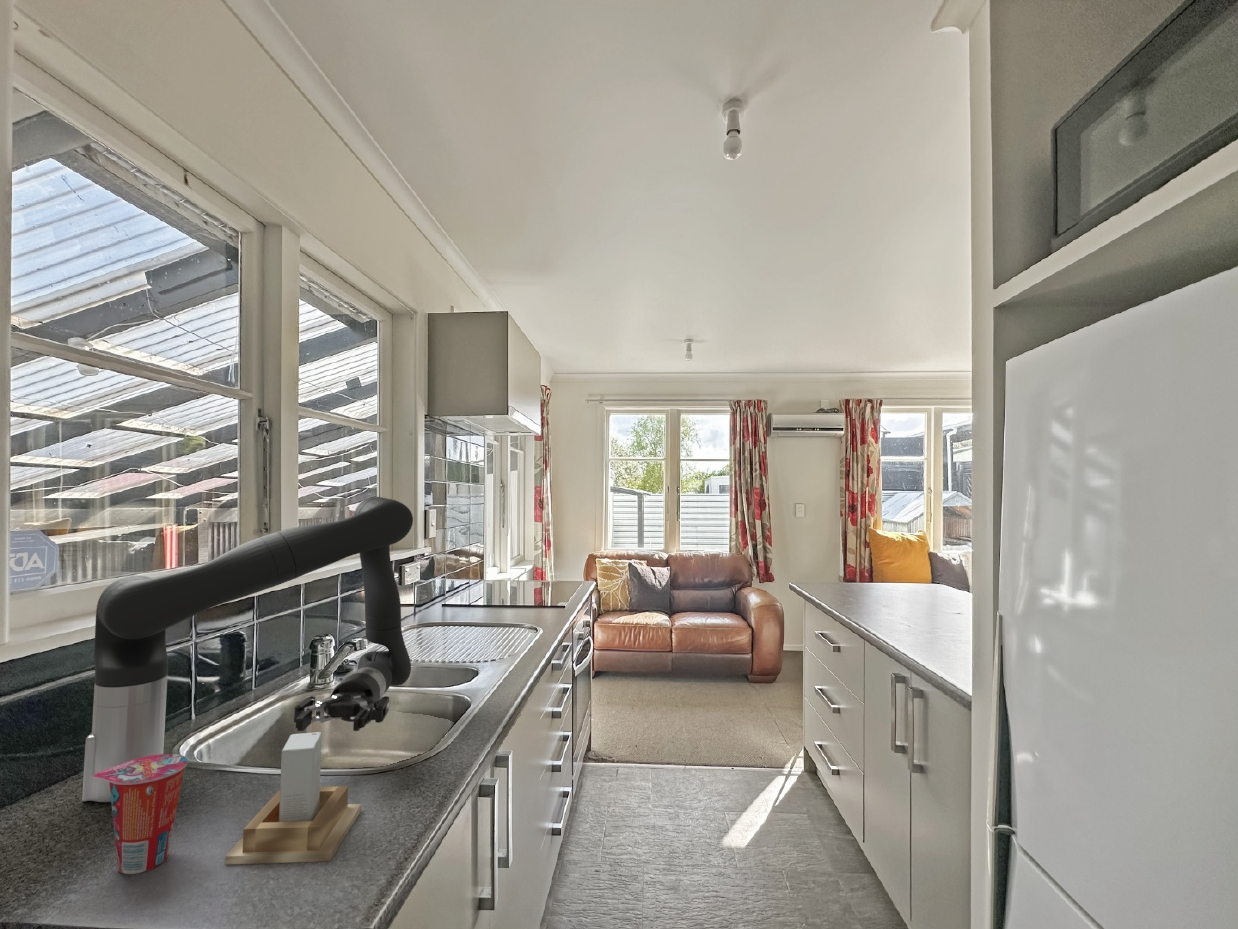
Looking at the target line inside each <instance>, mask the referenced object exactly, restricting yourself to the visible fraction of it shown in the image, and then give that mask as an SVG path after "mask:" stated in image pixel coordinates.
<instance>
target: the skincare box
mask: <svg viewBox="0 0 1238 929" xmlns="http://www.w3.org/2000/svg"><path fill="white" fill-rule="evenodd" d="M322 738H323V737H322V732H321V731H317V732H315V731H314V732H303V733H301V732H300V733H293V734H290V735H289V737H288V739H287V741H286V742H285V745H284V747H283V748H282V750H281V758H280V760H281V761H280V762H281V763H280V764H281V765H280V786H279V788H280V789H279V790H280V808H279V822H303V821H313V820H314V818H315V817H316V816H317V814H318V813H319V798H320V787H321V767H322V766H321V765H322V764H321V763H322V741H323V740H322Z"/></svg>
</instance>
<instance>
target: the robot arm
mask: <svg viewBox="0 0 1238 929" xmlns="http://www.w3.org/2000/svg"><path fill="white" fill-rule="evenodd" d="M413 522H414V518H413V513H412V512H411V509H410V508H409V507H408V506H407V505H406V504H404V503H403V502H402V501H398V500H396V499H392V498H386V497H380V496H370V497H368V498H365V499H363V500H362V501H361V502H359V504H358V505H357V506H356V508H355V511H354V512H353V515H352V516H350V517H346V518H344V519H341V520H336V521H331V522H325V523H316V524H309V525H301V526H296V527H290V528H286V529H282V530H278V531H276V532H272V533H269V534H266V535H263V536H260V537H257V538H254V539H252V540H249V541H246V542H244V543H242V544H240V545H238V546H236V547H234V548H232V549H230V550H229V551H226V552H225V553H223V554H221V555H219V556H217V557H216V558H214V559H212V560H210V561H208V562H206V563H205V562H204V564H201V565H199V566H196V567H192V568H190V569H186V570H183V571H178V572H175V573H172V574H167V575H163V576H160V577H159V576H158V577H155V578H152V577H148V576H145V575H144V576H143V575H129V576H125V577H122V578H120V579H119V578H118V579H117V580H115V581H113V582H112V583H110V584H109V585H108V586H107V587H106V588H105V589H104V590H103V591H102V593H101V594H100V596H99V597H98V600H97V604H96V612H95V624H94V625H95V629H94V650H93V651H94V652H93V654H94V655H93V660H94V661H93V663H94V691H93V692H94V693H93V706H92V708H93V709H92V726H91V733H89V735H87V737H85V746H84V763H83V781H82V783H83V784H82V795H81V796H82V797H81V801H82V802H87V801H90V802H91V801H92V802H97V803H111V793H110V783H109V781H107V780H104V779H100V778H96V777H93V776H94V775H95V774H97V773H98V772H100V771H103V770H105V769H108V768H111V767H113V766H116V765H119V764H122V763H125V762H128V761H131V760H134V759H137V758H141V757H146V756H152V755H160V754H164V749H165V748H164V746H165V745H164V744H165V729H166V728H165V727H166V709H167V692H168V672H169V671H168V669H169V658H168V657H169V656H168V653H167V642H166V632H167V631H166V630H167V629H169V628H171V627H173V626H175V625H177V624H179V623H181V622H183V621H185V620H187V619H190V618H192V617H194V616H197V615H199V614H200V613H203V612H205V611H207V610H209V609H212V608H214V607H216V606H220V605H223V604H225V603H229V602H232V601H235V600H238V599H242V598H245V597H247V596H251V595H253V594H257V593H259V592H262V591H265V590H269V589H271V588H274V587H277V586H279V585H282V584H285V583H287V582H290V581H292V580H295V579H298V578H300V577H302V576H304V575H306V574H309V573H312V572H314V571H318V570H319V569H322V568H325V567H327V566H329V565H332V564H334V563H336V562H339V561H341V560H343V559H346V558H349V557H351V556H355V555H358V554H359V559H360V565H361V572H362V573H361V574H362V580H363V592H364V593H363V594H364V620H365V622H364V623H365V626H364V627H365V629H364V630H365V638H366V640H367V641H368V642H370V643H373V644H376V645H379V646H383V647H386V649H388V650H375V651H369V652H366V653H364V654H362V656H360V658H359V661H358V664H357V669H356V670H354V671H353V672H352V673H350V674H349V675H348V676H346V677H345V678H344V679H343V680H342V681H341V682H340V683H339V684H337V685H336V687H335V688H334V689H333V691H332V693H331V694H330V696H328V697H325V698H324V699H323V698H322V699H319V700H316V696H313V695H311V696H308V697H307V698H305V699H303V700H302V701H301V702H300V703H298V704H297V705H295V706H294V709H293V710H294V712H293V723H295V729H297V731H298V732H304V731H305V730H306V729H307V728H308V727H309V726H310V725H311V724H312V723H316V722H317V723H320V724H322V723H325V722H328V721H332V720H342V721H344V722H348V723H349V722H350V723H353V724H352V725H353V727H352V728H353V732H359V731H360V730H361V729H364V728H365V727H366V726H367V725H369V724H371V723H372V721H374V722H375V723H378V724H380V723H383V721H384V719H385V718H386V716H387V715H388V713H389V710H390V708H389V707H390V696H386V695H385V694H386V692H387V691H388V690H389V688H390V687H395V686H402V685H403V684H405V683H406V682H407V681H408V679H409V678H410V675H411V673H412V672H411V671H412V662H411V658H410V656H409V653H408V649H407V646H406V643H405V640H404V636H403V631H402V605H401V604H402V603H401V596H400V592H399V588H398V584H397V580H396V578H395V574H394V570H393V568H392V561H391V553H390V552H391V548H390V546H391V545H394V544H398V542H400V541H402V540H403V539H404V538H406V536H407V535H408V534H409V533H410V531H411V530H412V526H413V524H414V523H413ZM314 714H315V715H314ZM325 714H326V715H325ZM313 715H314V716H313Z"/></svg>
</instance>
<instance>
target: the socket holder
mask: <svg viewBox="0 0 1238 929" xmlns="http://www.w3.org/2000/svg"><path fill="white" fill-rule="evenodd" d="M279 808H280V789H279V790H277V792H276V793H275V794H274V795H273V796H272V798H270V800H269V801H268V802H267V803H266V804H265V805H264V806H263V807H262V808H261V809H260V811H259V812H258V813H256V814H255V816H254V817H253V818H252V819H251V821H250V822H248V823H247V824H246V826H244V828H243V834H242V835H243V836H242V837H241V838H240V839H239V840H238V842H237V843H236V844H235V845H234V846H233V847H232V848H231V850H230V851H228V853H227V854H226V855H225V857H224V865H248V864H249V865H251V864H253V865H254V864H279V863H304V862H305V863H309V862H312V863H313V862H331V860H333V857H334V856H335V854H336V853H337V851H338V849H339V848H340V846H341V844H342V842H343V841H344V840H345V838H346V836H347V835H348V833H349V831H350V829H351V828H352V826H353V824H354V823H355V821H356V819H357V818H358V816H359V814H360V813H361V812H362V803H350V804H349V785H341V786H339V785H338V786H320V798H319V813H318V814H317V816H316V817H315V818H314V820H313V821H303V822H279Z"/></svg>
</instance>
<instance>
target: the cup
mask: <svg viewBox="0 0 1238 929" xmlns="http://www.w3.org/2000/svg"><path fill="white" fill-rule="evenodd" d="M188 762H189V759H188V757H187V756H185V755H183V754H182V755H181V754H176V753H175V754H174V753H163V754H160V755H152V756H146V757H141V758H137V759H134V760H131V761H128V762H125V763H122V764H119V765H116V766H113V767H111V768H108V769H105V770H103V771H100V772H98V773H97V774H95V775H94V776H93V777H96V778H100V779H104V780H107V781H109V783H110V793H111V802H110V803H111V813H112V825H113V826H112V827H113V833H114V834H113V835H114V844H115V845H114V846H115V854H116V864H117V871H118V872H119V873H120V874H123V875H134V874H140V873H143V872H147V871H151V870H153V869H154V868H157V867H159V866H160V865H162V864H163V863H164V862H165V861H166V860H167V858H168V856H169V854H168V853H169V849H170V845H171V839H172V834H173V829H174V824H175V821H176V814H177V808H178V804H179V799H180V792H181V787H182V783H183V778H184V773H185V768H186V767H187V765H188Z"/></svg>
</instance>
